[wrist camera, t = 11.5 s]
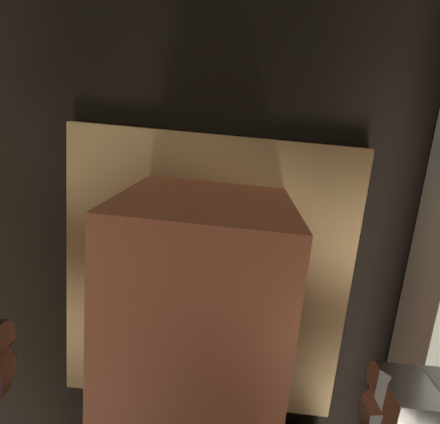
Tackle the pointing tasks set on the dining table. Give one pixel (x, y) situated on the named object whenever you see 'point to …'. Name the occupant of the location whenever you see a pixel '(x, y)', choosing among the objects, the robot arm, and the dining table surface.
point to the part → (192, 303)
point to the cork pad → (238, 174)
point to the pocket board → (422, 278)
